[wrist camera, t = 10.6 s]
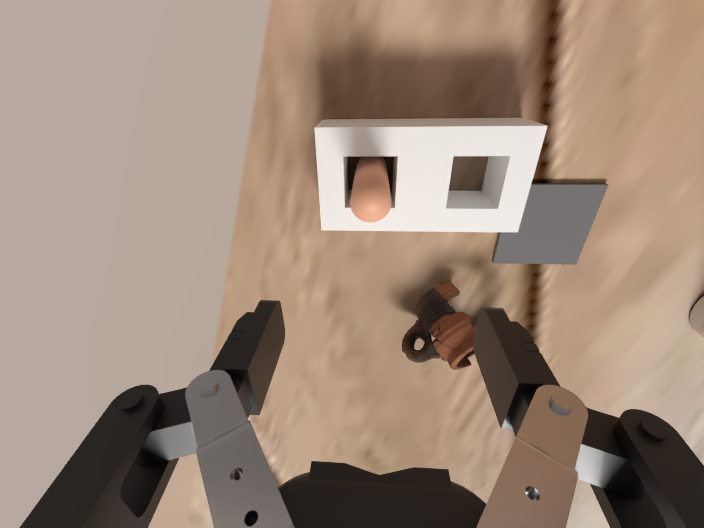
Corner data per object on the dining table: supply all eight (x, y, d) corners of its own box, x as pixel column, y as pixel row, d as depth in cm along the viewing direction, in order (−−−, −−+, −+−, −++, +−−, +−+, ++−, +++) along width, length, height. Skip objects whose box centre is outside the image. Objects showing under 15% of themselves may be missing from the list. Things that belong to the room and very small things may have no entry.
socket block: (521, 117, 29) (547, 125, 24) (499, 211, 33) (517, 232, 29) (322, 119, 30) (314, 127, 26) (328, 210, 34) (321, 230, 30)
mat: (605, 183, 31) (608, 184, 31) (574, 262, 36) (576, 264, 36) (511, 183, 32) (512, 184, 31) (492, 261, 36) (493, 263, 36)
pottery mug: (469, 263, 37) (517, 320, 32) (473, 296, 45) (512, 347, 40) (380, 313, 38) (413, 376, 33) (398, 338, 46) (427, 393, 41)
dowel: (387, 152, 31) (392, 183, 22) (385, 182, 33) (390, 222, 24) (356, 152, 31) (349, 183, 23) (356, 182, 33) (350, 222, 24)
